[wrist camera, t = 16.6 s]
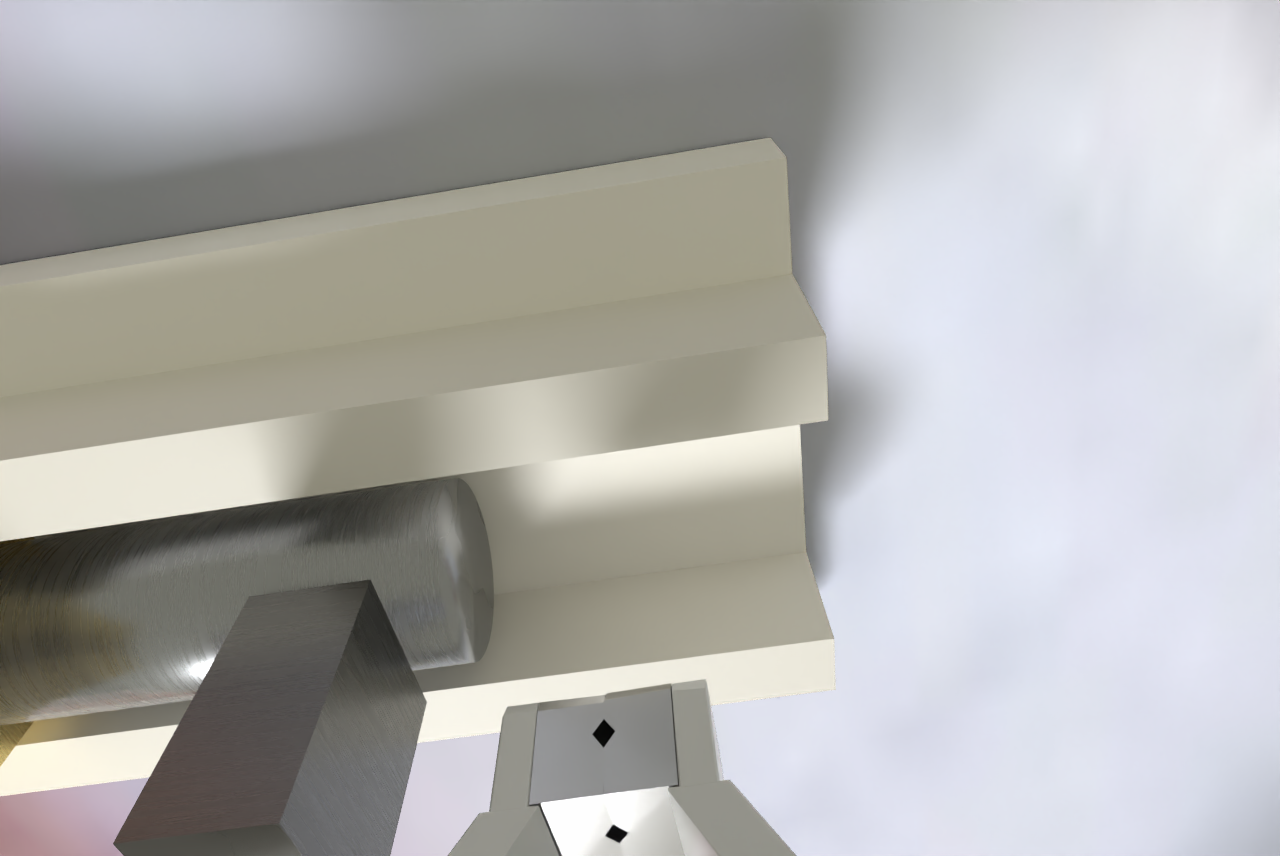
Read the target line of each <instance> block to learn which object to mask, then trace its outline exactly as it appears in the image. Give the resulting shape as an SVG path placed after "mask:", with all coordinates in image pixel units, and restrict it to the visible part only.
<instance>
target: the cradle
mask: <svg viewBox="0 0 1280 856" xmlns="http://www.w3.org/2000/svg"><path fill="white" fill-rule="evenodd" d="M821 421H828V387H827V350H826V334H825V332H824V331H823V329H822V327H821V325H820V323H819V321H818V320H817V318H816V316H815V314H814V312H813V311H812V309H811V307H810V305H809V303H808V301H807V300H806V298H805V296H804V294H803V292H802V290H801V289H800V287H799V285H798V283H797V281H796V279H795V278H794V276H793V274H792V256H791V236H790V216H789V196H788V176H787V157H786V156H785V155H784V154H783V152H782V151H781V150H780V149H779V148H778V146H777V145H776V144H775V143H774V141H773V140H772V139H771V138H764V139H758V140H752V141H746V142H740V143H734V144H728V145H722V146H716V147H710V148H704V149H698V150H692V151H685V152H679V153H673V154H667V155H661V156H655V157H649V158H643V159H637V160H631V161H625V162H619V163H613V164H607V165H601V166H595V167H589V168H583V169H577V170H571V171H565V172H559V173H553V174H547V175H541V176H535V177H529V178H523V179H517V180H511V181H505V182H499V183H493V184H487V185H481V186H475V187H469V188H462V189H456V190H450V191H444V192H438V193H432V194H426V195H420V196H414V197H408V198H402V199H396V200H390V201H384V202H378V203H372V204H366V205H360V206H354V207H348V208H342V209H336V210H330V211H324V212H318V213H312V214H306V215H300V216H294V217H288V218H282V219H276V220H270V221H264V222H258V223H252V224H245V225H239V226H233V227H227V228H221V229H215V230H209V231H203V232H197V233H191V234H185V235H179V236H173V237H167V238H161V239H155V240H149V241H143V242H137V243H131V244H125V245H119V246H113V247H107V248H101V249H95V250H89V251H83V252H77V253H71V254H65V255H59V256H53V257H47V258H41V259H35V260H29V261H22V262H16V263H10V264H4V265H0V541H6V540H13V539H20V538H27V537H34V538H35V539H40V538H47V537H53V536H60V535H67V534H74V533H81V532H88V531H95V530H101V529H108V528H115V527H122V526H129V525H136V524H143V523H149V522H156V521H163V520H170V519H177V518H184V517H191V516H197V515H204V514H211V513H218V512H225V511H232V510H239V509H245V508H252V507H259V506H266V505H273V504H280V503H287V502H294V501H300V500H307V499H314V498H321V497H328V496H335V495H342V494H348V493H355V492H362V491H369V490H376V489H383V488H390V487H396V486H403V485H410V484H417V483H424V482H431V481H438V480H444V479H451V478H461V479H462V480H464V481H465V482H466V483H467V484H468V485H469V487H470V488H471V490H472V492H473V493H474V495H475V497H476V500H477V502H478V504H479V507H480V510H481V513H482V516H483V519H484V523H485V527H486V531H487V536H488V541H489V546H490V553H491V560H492V569H493V583H494V610H493V623H492V630H491V635H490V640H489V643H488V647H487V649H486V652H485V654H484V655H483V657H482V658H481V659H480V660H479V661H478V662H475V663H467V664H460V665H452V666H445V667H437V668H430V669H422V670H415V671H413V673H414V675H415V677H416V679H417V682H418V684H419V686H420V688H421V690H422V693H423V695H424V697H425V699H426V701H427V704H426V708H425V712H424V716H423V721H422V725H421V729H420V733H419V737H418V741H417V743H421V742H429V741H437V740H445V739H453V738H460V737H468V736H476V735H484V734H492V733H500V731H501V724H502V717H503V715H504V713H505V711H506V708H507V707H509V706H517V705H524V704H532V703H539V702H547V701H556V700H565V699H573V698H582V697H591V696H599V695H606V693H611V692H618V691H624V690H631V689H637V688H643V687H650V686H656V685H662V684H669V683H671V684H674V683H681V682H688V681H695V680H702V679H706V681H707V685H708V690H709V696H710V701H711V705H719V704H727V703H735V702H743V701H750V700H758V699H766V698H774V697H782V696H790V695H798V694H805V693H813V692H821V691H829V690H836V688H835V651H834V636H833V633H832V630H831V627H830V624H829V621H828V618H827V615H826V612H825V609H824V605H823V602H822V599H821V596H820V593H819V590H818V587H817V584H816V581H815V577H814V574H813V571H812V568H811V565H810V562H809V559H808V556H807V553H806V536H805V516H804V496H803V476H802V456H801V436H800V425H801V424H808V423H815V422H821ZM191 701H192V700H189V701H181V702H174V703H166V704H158V705H151V706H143V707H136V708H128V709H121V710H113V711H106V712H98V713H91V714H83V715H76V716H68V717H60V718H53V719H45V720H38V721H34V722H33V723H32V725H31V726H30V727H29V729H28V730H27V731H26V733H25V734H24V735H23V737H22V738H21V739H20V741H19V742H18V744H17V745H16V746H15V748H14V749H13V750H12V752H11V753H10V754H9V756H8V757H7V758H6V760H5V761H4V762H3V764H2V765H1V767H0V796H6V795H14V794H21V793H29V792H37V791H45V790H53V789H61V788H68V787H76V786H84V785H92V784H100V783H108V782H116V781H123V780H131V779H139V778H147V777H150V776H151V774H152V772H153V770H154V768H155V766H156V765H157V763H158V761H159V759H160V757H161V756H162V754H163V752H164V750H165V748H166V746H167V745H168V743H169V741H170V739H171V737H172V736H173V734H174V732H175V730H176V728H177V726H178V725H179V723H180V721H181V719H182V717H183V715H184V714H185V712H186V710H187V708H188V706H189V705H190V703H191Z"/></svg>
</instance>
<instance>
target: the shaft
mask: <svg viewBox="0 0 1280 856" xmlns="http://www.w3.org/2000/svg"><path fill="white" fill-rule="evenodd" d="M493 610H494V583H493V569H492V560H491V553H490V546H489V541H488V536H487V531H486V527H485V523H484V519H483V516H482V513H481V510H480V507H479V504H478V502H477V500H476V497H475V495H474V493H473V492H472V490H471V488H470V487H469V485H468V484H467V483H466V482H465V481H464V480H462V479H461V478H451V479H444V480H438V481H431V482H424V483H417V484H410V485H403V486H396V487H390V488H383V489H376V490H369V491H362V492H355V493H348V494H342V495H335V496H328V497H321V498H314V499H307V500H300V501H294V502H287V503H280V504H273V505H266V506H259V507H252V508H245V509H239V510H232V511H225V512H218V513H211V514H204V515H197V516H191V517H184V518H177V519H170V520H163V521H156V522H149V523H143V524H136V525H129V526H122V527H115V528H108V529H101V530H95V531H88V532H81V533H74V534H67V535H60V536H53V537H47V538H40V539H33V540H26V541H19V542H12V543H5V544H0V725H8V724H15V723H23V722H30V721H38V720H45V719H53V718H60V717H68V716H76V715H83V714H91V713H98V712H106V711H113V710H121V709H128V708H136V707H143V706H151V705H158V704H166V703H174V702H181V701H189V700H192V701H191V703H190V705H189V706H188V708H187V710H186V712H185V714H184V715H183V717H182V719H181V721H180V723H179V725H178V726H177V728H176V730H175V732H174V734H173V736H172V737H171V739H170V741H169V743H168V745H167V746H166V748H165V750H164V752H163V754H162V756H161V757H160V759H159V761H158V763H157V765H156V766H155V768H154V770H153V772H152V774H151V776H150V777H149V779H148V781H147V783H146V785H145V786H144V788H143V790H142V792H141V794H140V796H139V797H138V799H137V801H136V803H135V805H134V806H133V808H132V810H131V812H130V814H129V816H128V817H127V819H126V821H125V823H124V825H123V826H122V828H121V830H120V832H119V834H118V836H117V837H116V839H115V841H114V843H113V844H114V845H115V847H116V848H117V849H118V850H119V851H120V852H121V853H122V854H123V855H124V856H390V854H391V850H392V846H393V842H394V837H395V833H396V829H397V825H398V821H399V816H400V812H401V808H402V804H403V800H404V796H405V791H406V787H407V783H408V779H409V775H410V771H411V766H412V762H413V758H414V754H415V750H416V746H417V741H418V737H419V733H420V729H421V725H422V721H423V716H424V712H425V708H426V704H427V701H426V699H425V697H424V695H423V693H422V690H421V688H420V686H419V684H418V682H417V679H416V677H415V675H414V673H413V671H415V670H422V669H430V668H437V667H445V666H452V665H460V664H467V663H475V662H478V661H479V660H480V659H481V658H482V657H483V655H484V654H485V652H486V649H487V647H488V643H489V640H490V635H491V630H492V623H493Z"/></svg>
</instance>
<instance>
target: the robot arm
mask: <svg viewBox="0 0 1280 856" xmlns="http://www.w3.org/2000/svg"><path fill="white" fill-rule="evenodd" d="M448 856H796V855H795V854H794V852H793V851H792V850H791V849H790V848H789V847H788V846H787V844H786V843H785V842H784V841H783V840H782V839H781V838H780V836H779V835H778V834H777V833H776V832H775V831H774V830H773V828H772V827H771V826H770V825H769V824H768V823H767V822H766V820H765V819H764V818H763V817H762V816H761V815H760V814H759V812H758V811H757V810H756V809H755V808H754V807H753V806H752V804H751V803H750V802H749V801H748V800H747V799H746V798H745V796H744V795H743V794H742V793H741V792H740V791H739V790H738V788H737V787H736V786H735V785H734V784H733V783H732V782H731V780H724V776H723V769H722V762H721V757H720V751H719V745H718V740H717V734H716V728H715V723H714V717H713V712H712V707H711V701H710V696H709V690H708V685H707V681H706V679H702V680H695V681H688V682H681V683H674V684H671V683H669V684H662V685H656V686H650V687H643V688H637V689H631V690H624V691H618V692H611V693H606V695H599V696H591V697H582V698H573V699H565V700H556V701H547V702H539V703H532V704H524V705H517V706H509V707H507V708H506V711H505V713H504V715H503V717H502V724H501V731H500V738H499V745H498V753H497V760H496V767H495V774H494V781H493V788H492V795H491V802H490V810H489V812H485V813H479V814H478V816H477V817H476V818H475V820H474V821H473V822H472V824H471V825H470V827H469V828H468V829H467V831H466V832H465V833H464V835H463V836H462V837H461V839H460V840H459V841H458V843H457V844H456V845H455V847H454V848H453V849H452V851H451V852H450V853H449V855H448Z"/></svg>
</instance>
